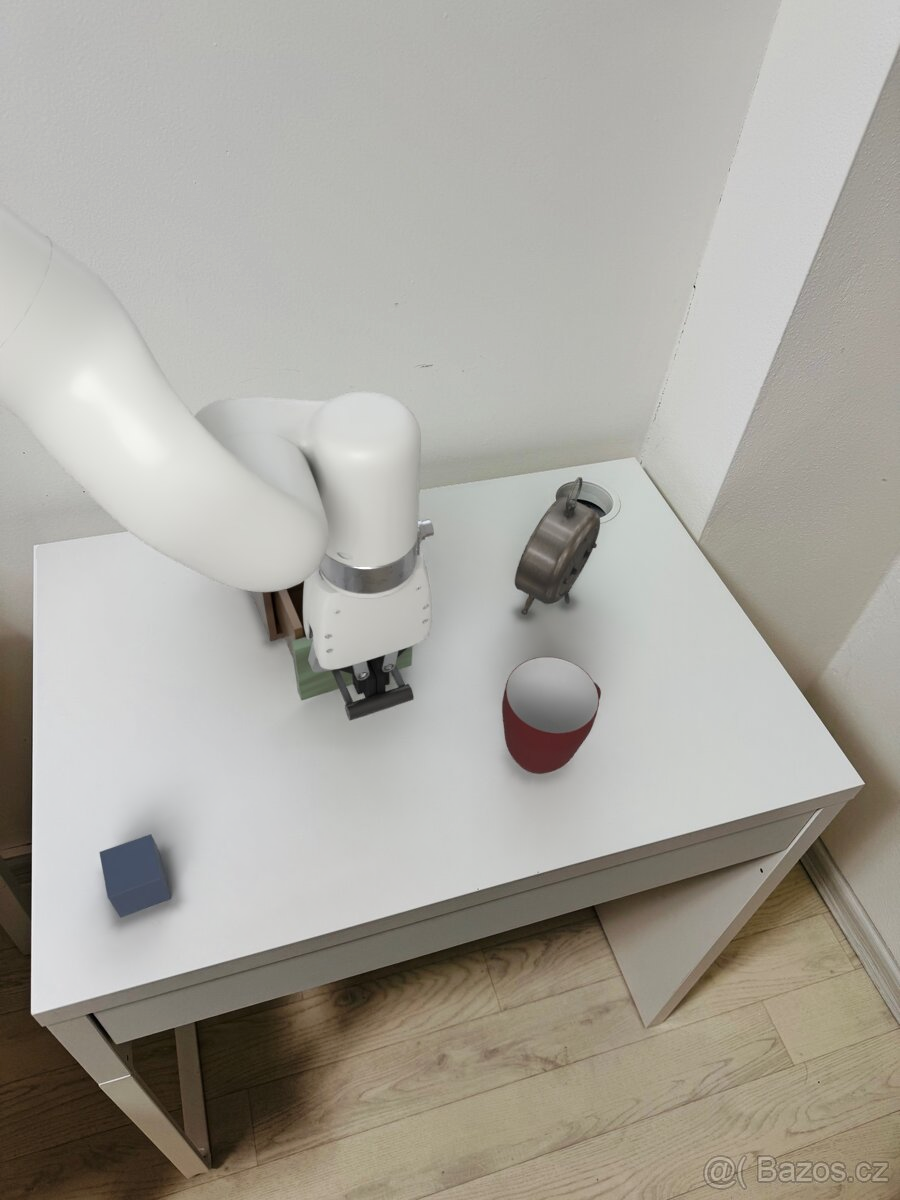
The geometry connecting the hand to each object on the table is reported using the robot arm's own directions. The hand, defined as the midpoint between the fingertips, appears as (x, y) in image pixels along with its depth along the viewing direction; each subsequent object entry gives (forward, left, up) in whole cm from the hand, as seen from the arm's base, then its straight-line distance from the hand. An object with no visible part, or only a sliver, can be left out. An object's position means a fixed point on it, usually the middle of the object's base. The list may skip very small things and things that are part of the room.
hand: (371, 690), depth 77 cm
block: (-23, -8, -4) cm, 25 cm away
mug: (+14, -9, -5) cm, 17 cm away
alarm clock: (+24, +8, -5) cm, 26 cm away
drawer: (0, +7, -4) cm, 8 cm away
